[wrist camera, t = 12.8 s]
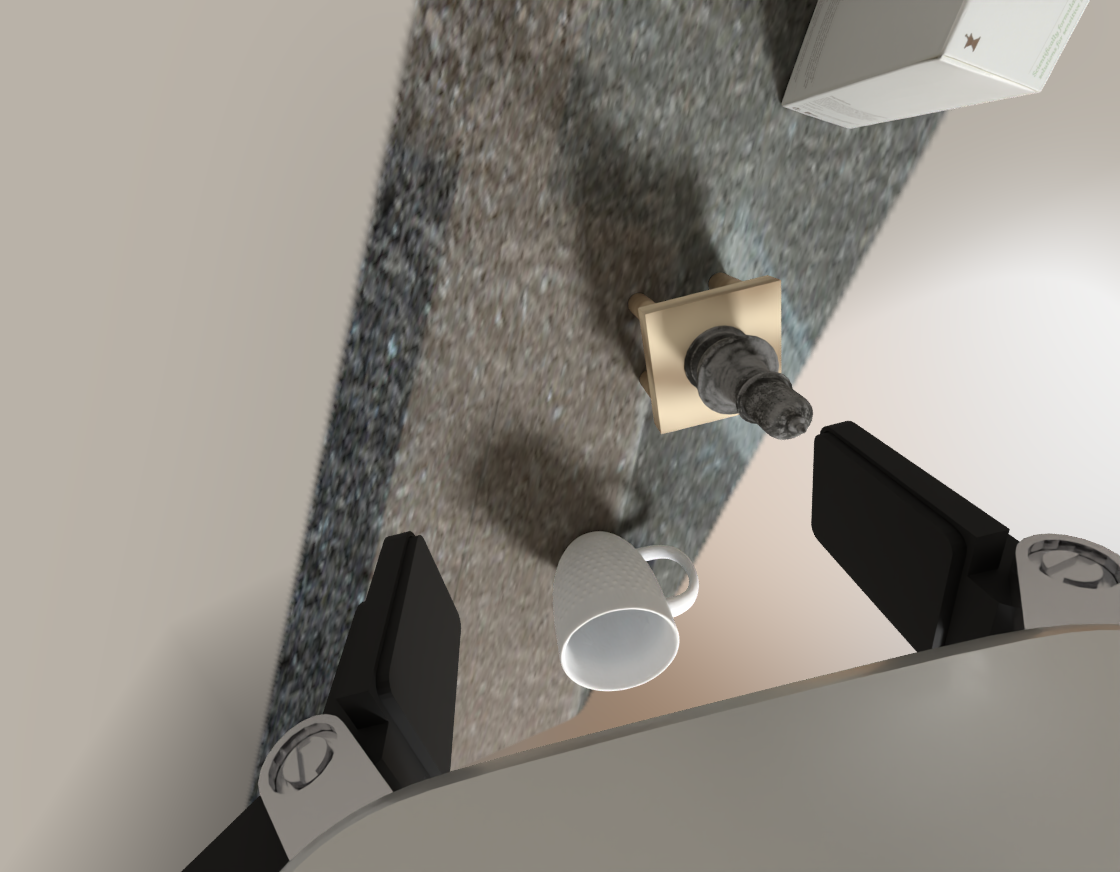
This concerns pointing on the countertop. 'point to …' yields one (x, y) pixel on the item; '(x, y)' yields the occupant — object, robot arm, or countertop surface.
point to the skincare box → (924, 56)
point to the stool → (682, 322)
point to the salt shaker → (746, 381)
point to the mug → (616, 611)
